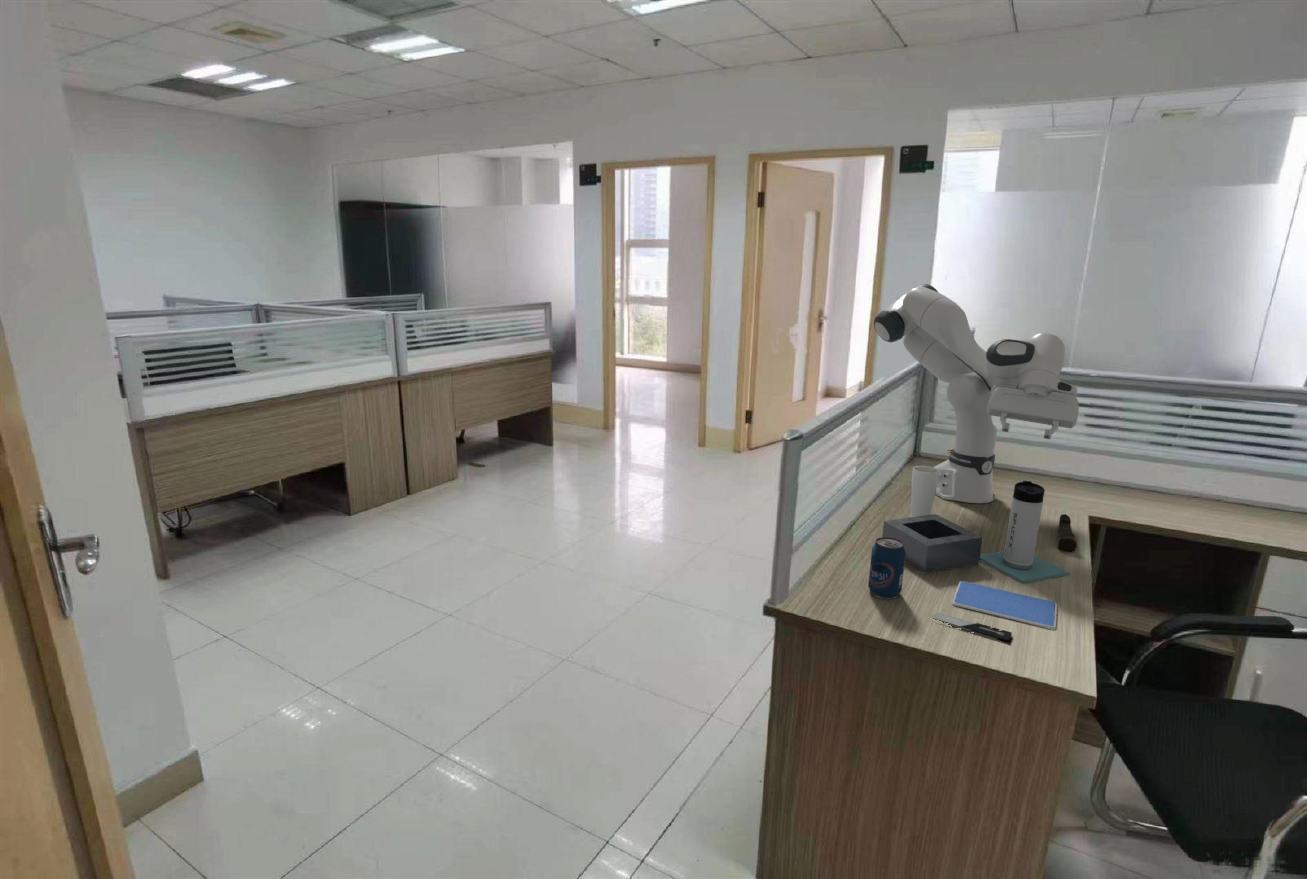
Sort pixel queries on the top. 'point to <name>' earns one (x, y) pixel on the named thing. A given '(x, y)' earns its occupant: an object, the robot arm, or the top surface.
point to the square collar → (935, 542)
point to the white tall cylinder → (923, 490)
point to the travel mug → (1023, 525)
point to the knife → (976, 628)
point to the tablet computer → (1006, 604)
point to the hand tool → (1066, 535)
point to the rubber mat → (1037, 572)
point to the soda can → (887, 567)
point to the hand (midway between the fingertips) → (1025, 434)
